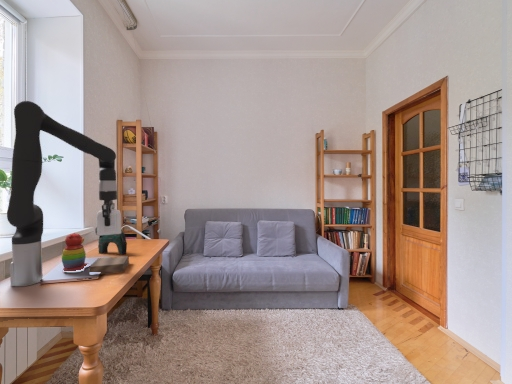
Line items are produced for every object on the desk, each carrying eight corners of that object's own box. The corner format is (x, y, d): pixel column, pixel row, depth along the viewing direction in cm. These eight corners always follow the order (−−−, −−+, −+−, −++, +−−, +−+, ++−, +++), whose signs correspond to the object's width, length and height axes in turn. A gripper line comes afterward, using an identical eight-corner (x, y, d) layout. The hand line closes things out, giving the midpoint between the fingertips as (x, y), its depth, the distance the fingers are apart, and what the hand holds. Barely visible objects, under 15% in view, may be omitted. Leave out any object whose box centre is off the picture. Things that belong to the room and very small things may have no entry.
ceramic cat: (94, 253, 151) (93, 220, 151) (104, 251, 158) (103, 219, 157) (121, 256, 146) (120, 221, 145) (129, 253, 152) (129, 220, 151)
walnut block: (89, 275, 114) (88, 266, 114) (98, 266, 127) (98, 258, 127) (123, 272, 118) (123, 263, 118) (128, 263, 132) (128, 255, 132)
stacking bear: (82, 272, 118) (81, 235, 117) (57, 275, 115) (56, 236, 115) (91, 265, 128) (90, 231, 128) (68, 267, 126) (67, 232, 125)
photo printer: (121, 232, 127) (120, 208, 127) (121, 233, 123) (121, 208, 123) (96, 235, 121) (96, 209, 121) (97, 236, 118) (96, 210, 117)
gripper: (103, 190, 127) (104, 223, 128) (94, 190, 114) (95, 228, 114) (119, 189, 130) (120, 222, 130) (113, 190, 116) (114, 227, 116)
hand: (109, 225), depth 122 cm, fingers closed on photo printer, 5 cm apart
